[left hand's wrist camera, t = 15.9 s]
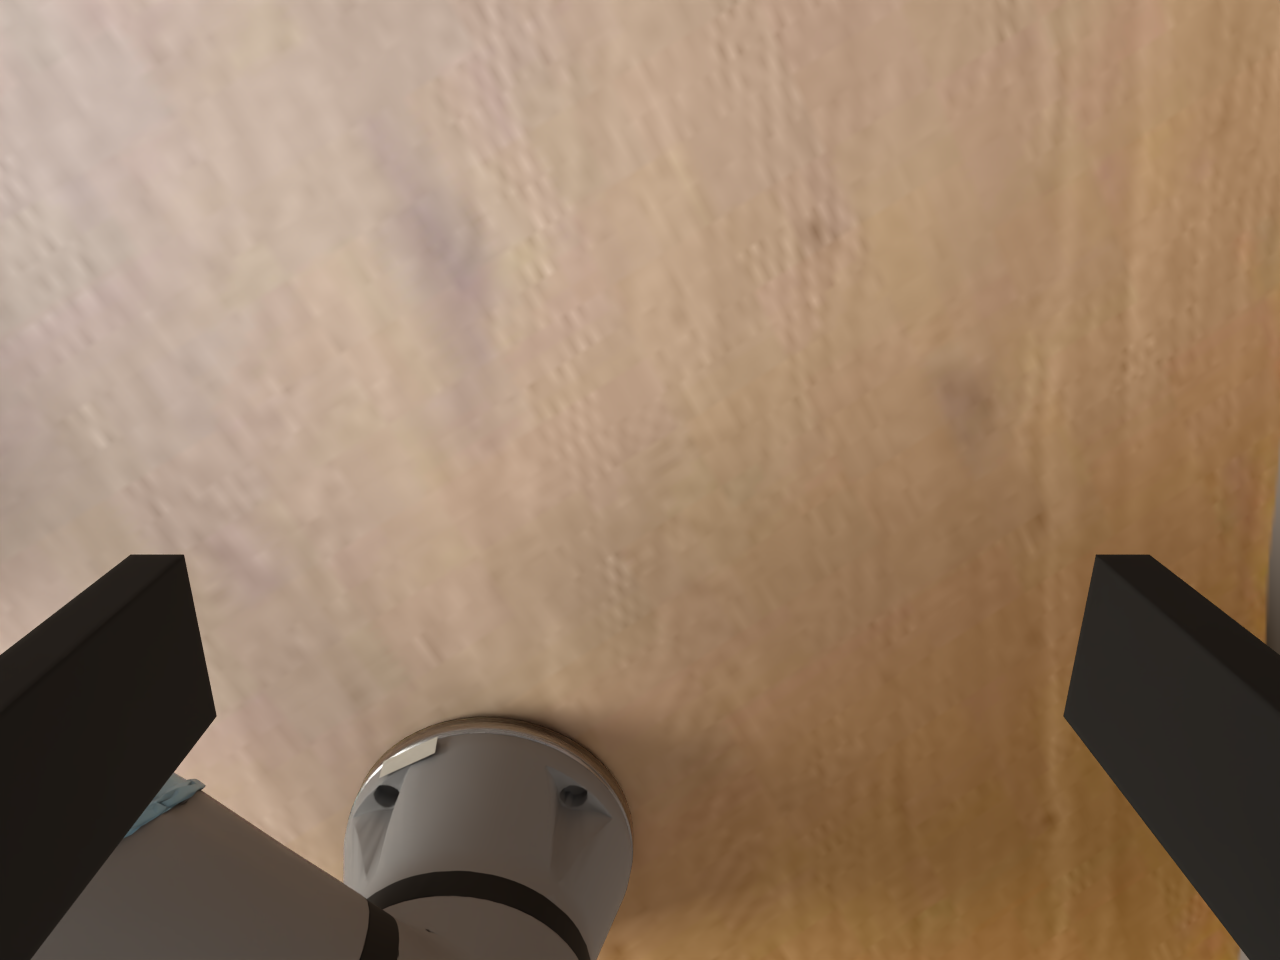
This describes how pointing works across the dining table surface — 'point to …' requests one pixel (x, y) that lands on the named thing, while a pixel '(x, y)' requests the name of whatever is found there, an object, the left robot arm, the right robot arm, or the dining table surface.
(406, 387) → the dining table surface
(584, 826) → the left robot arm
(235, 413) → the dining table surface
